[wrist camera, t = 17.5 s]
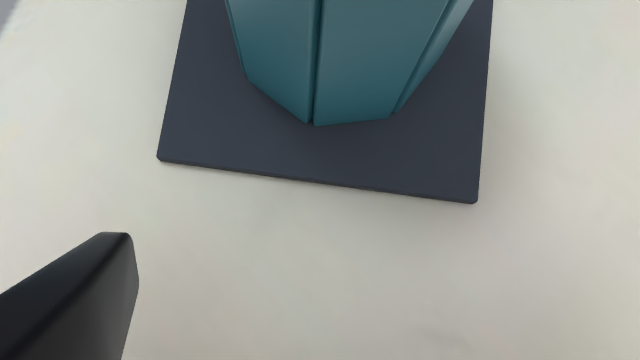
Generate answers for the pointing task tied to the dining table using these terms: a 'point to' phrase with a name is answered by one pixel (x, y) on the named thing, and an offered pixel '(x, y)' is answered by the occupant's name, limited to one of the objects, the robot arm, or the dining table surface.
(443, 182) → the mat
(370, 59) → the tube
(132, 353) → the dining table surface
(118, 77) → the dining table surface
